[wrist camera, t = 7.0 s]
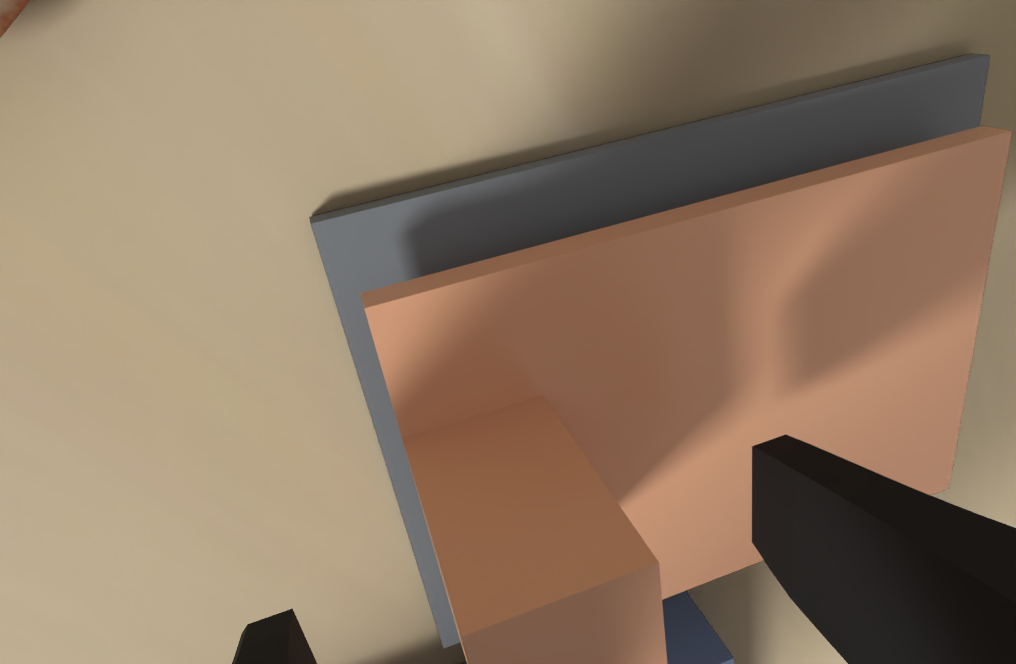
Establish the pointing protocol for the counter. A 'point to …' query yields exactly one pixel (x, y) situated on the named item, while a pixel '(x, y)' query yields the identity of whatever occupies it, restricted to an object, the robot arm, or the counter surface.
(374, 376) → the mat
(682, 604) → the blue box
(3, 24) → the fruit slice
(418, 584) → the counter surface
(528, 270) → the lid
